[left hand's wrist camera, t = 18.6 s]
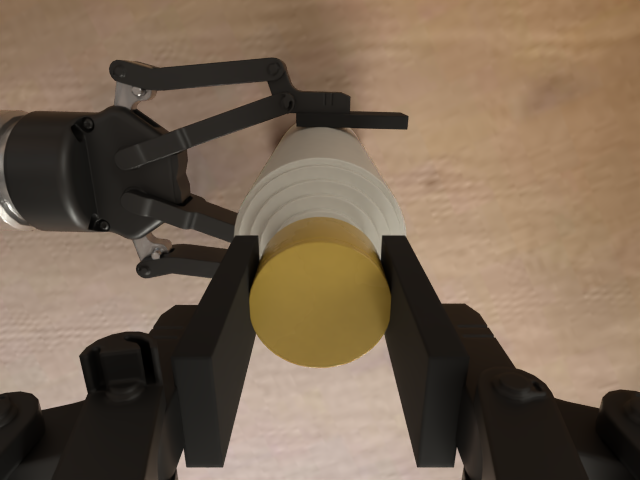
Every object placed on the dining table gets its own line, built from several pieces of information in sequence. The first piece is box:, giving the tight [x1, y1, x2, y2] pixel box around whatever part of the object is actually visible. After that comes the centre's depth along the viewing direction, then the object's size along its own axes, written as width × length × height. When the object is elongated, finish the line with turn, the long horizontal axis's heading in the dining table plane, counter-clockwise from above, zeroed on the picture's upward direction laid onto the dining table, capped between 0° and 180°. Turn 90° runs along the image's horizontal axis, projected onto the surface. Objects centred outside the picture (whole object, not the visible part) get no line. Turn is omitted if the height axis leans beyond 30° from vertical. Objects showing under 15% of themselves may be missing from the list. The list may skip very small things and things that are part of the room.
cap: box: [249, 217, 391, 368], centre depth 13 cm, size 4×4×2 cm
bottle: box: [234, 124, 406, 260], centre depth 23 cm, size 7×7×22 cm
